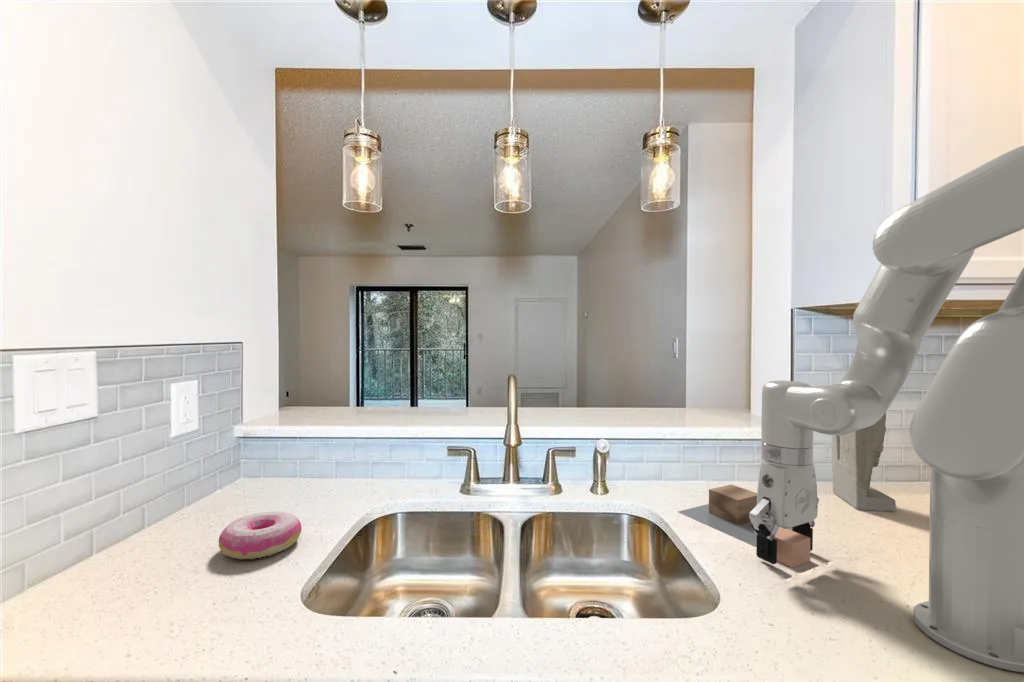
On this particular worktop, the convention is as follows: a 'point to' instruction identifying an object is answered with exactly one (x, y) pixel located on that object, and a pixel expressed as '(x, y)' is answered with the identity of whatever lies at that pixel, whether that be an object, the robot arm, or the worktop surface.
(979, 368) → the robot arm
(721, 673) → the worktop surface
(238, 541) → the donut
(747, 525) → the slate board
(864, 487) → the sculpture
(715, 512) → the walnut base
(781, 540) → the terracotta cube
